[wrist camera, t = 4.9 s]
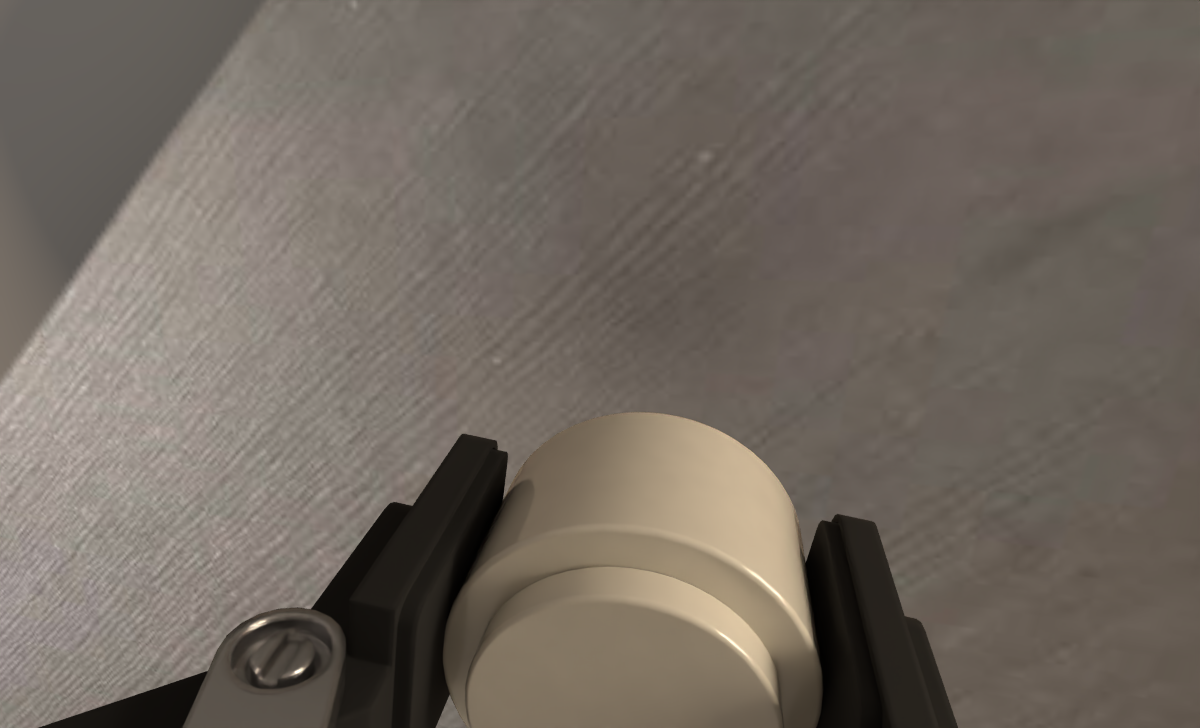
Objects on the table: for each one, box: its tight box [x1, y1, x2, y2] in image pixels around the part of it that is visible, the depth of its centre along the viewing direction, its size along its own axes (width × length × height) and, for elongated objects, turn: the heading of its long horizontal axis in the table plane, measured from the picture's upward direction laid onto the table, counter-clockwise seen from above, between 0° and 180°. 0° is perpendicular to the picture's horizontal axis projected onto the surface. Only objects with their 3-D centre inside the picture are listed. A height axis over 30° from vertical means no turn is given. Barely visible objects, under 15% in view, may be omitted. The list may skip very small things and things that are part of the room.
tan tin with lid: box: [443, 412, 824, 728], centre depth 11 cm, size 5×5×4 cm
